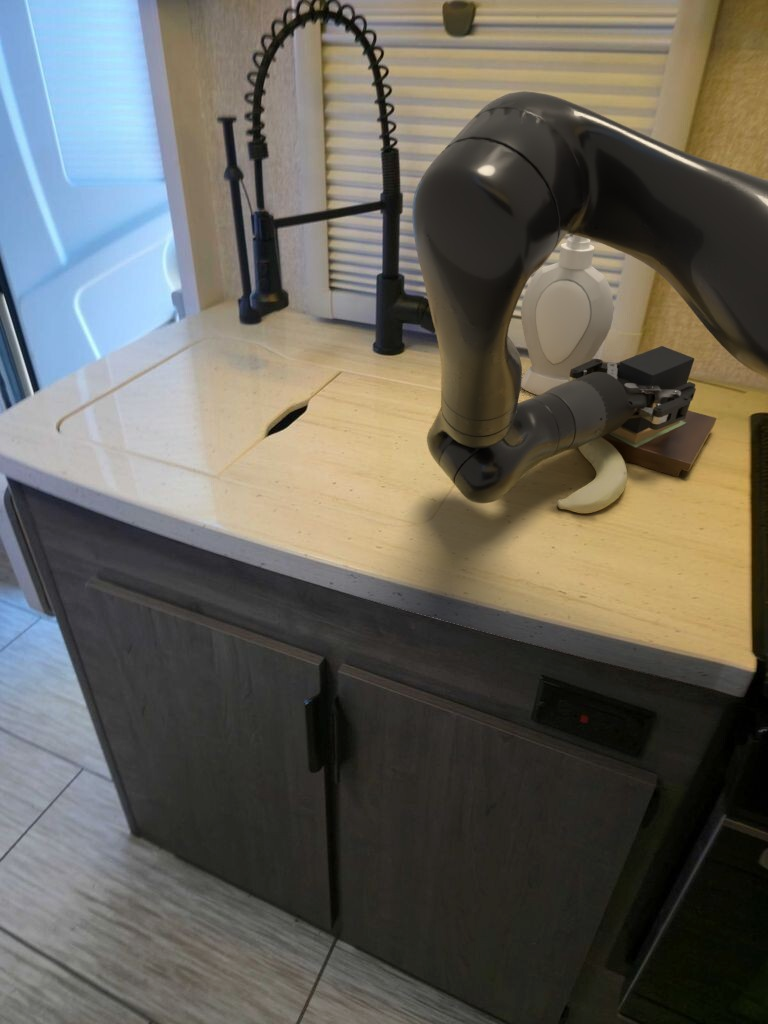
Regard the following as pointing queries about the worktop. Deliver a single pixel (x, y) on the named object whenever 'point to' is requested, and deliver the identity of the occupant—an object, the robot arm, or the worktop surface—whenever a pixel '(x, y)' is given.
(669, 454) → the wooden base
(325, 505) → the worktop surface
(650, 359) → the matte black box
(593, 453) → the fruit
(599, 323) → the soap bottle
